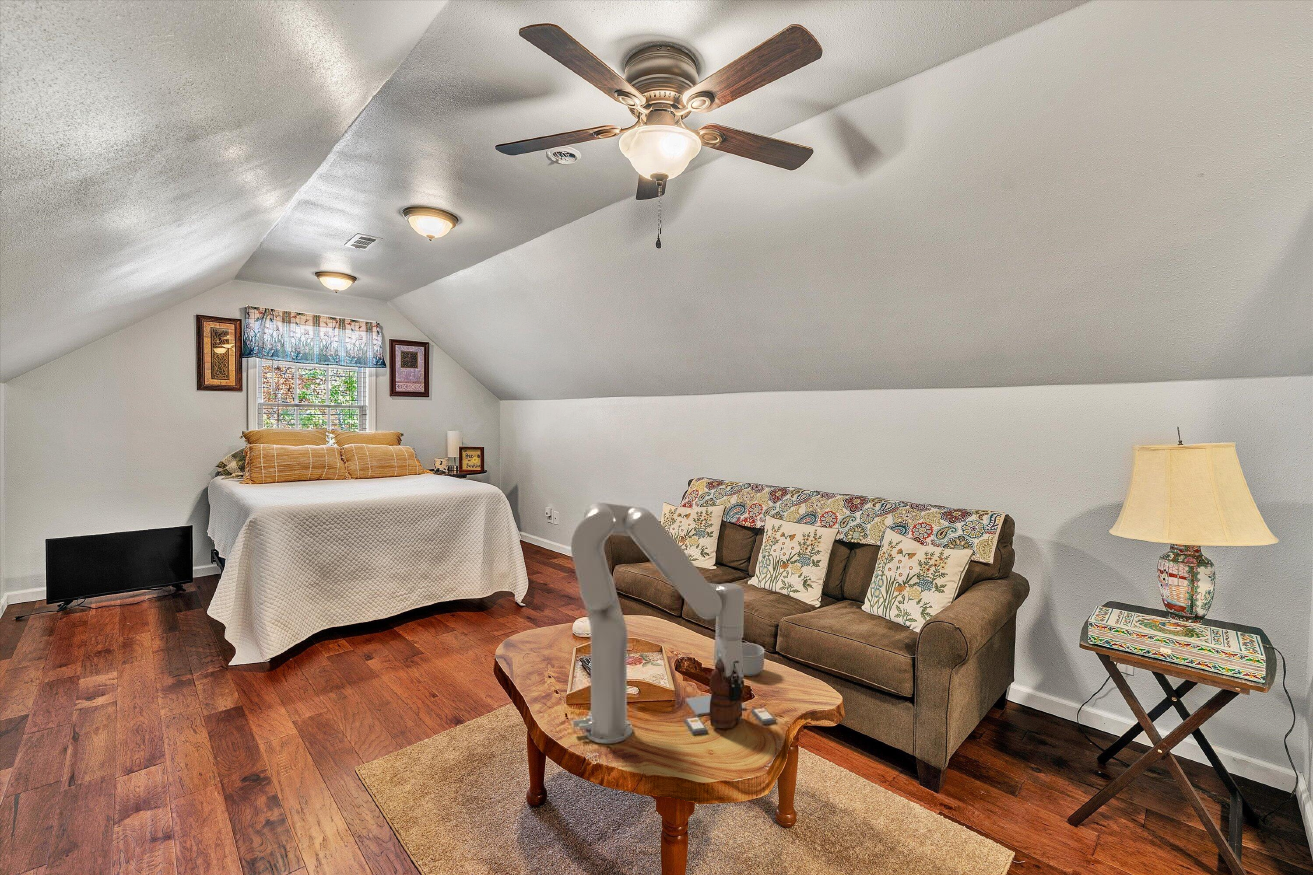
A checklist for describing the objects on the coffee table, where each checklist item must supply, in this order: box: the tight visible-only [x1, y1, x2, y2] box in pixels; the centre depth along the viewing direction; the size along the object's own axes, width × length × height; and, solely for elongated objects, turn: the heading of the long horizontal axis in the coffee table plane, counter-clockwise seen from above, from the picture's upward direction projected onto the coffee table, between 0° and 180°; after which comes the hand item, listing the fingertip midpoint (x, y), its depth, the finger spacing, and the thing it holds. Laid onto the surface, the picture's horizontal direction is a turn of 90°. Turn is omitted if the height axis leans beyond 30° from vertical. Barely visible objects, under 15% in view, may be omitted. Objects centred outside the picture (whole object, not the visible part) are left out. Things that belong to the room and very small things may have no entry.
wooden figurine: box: [709, 658, 745, 729], centre depth 158 cm, size 12×6×18 cm, turn 145°
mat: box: [685, 694, 747, 717], centre depth 169 cm, size 15×10×1 cm, turn 106°
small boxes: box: [683, 707, 777, 736], centre depth 159 cm, size 24×7×1 cm, turn 106°
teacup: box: [742, 642, 766, 677], centre depth 193 cm, size 14×11×8 cm
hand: (728, 692), depth 159 cm, fingers closed on wooden figurine, 8 cm apart
